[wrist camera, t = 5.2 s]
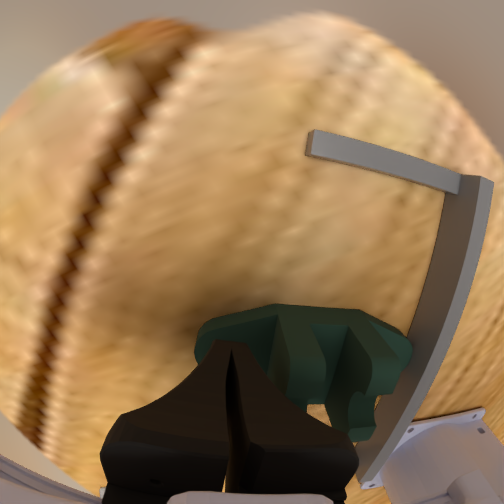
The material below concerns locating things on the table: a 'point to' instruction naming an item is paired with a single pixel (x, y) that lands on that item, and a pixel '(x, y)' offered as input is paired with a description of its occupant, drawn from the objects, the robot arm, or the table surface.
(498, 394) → the table surface
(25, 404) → the table surface
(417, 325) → the u-shaped gray bracket
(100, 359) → the table surface
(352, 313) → the mount
